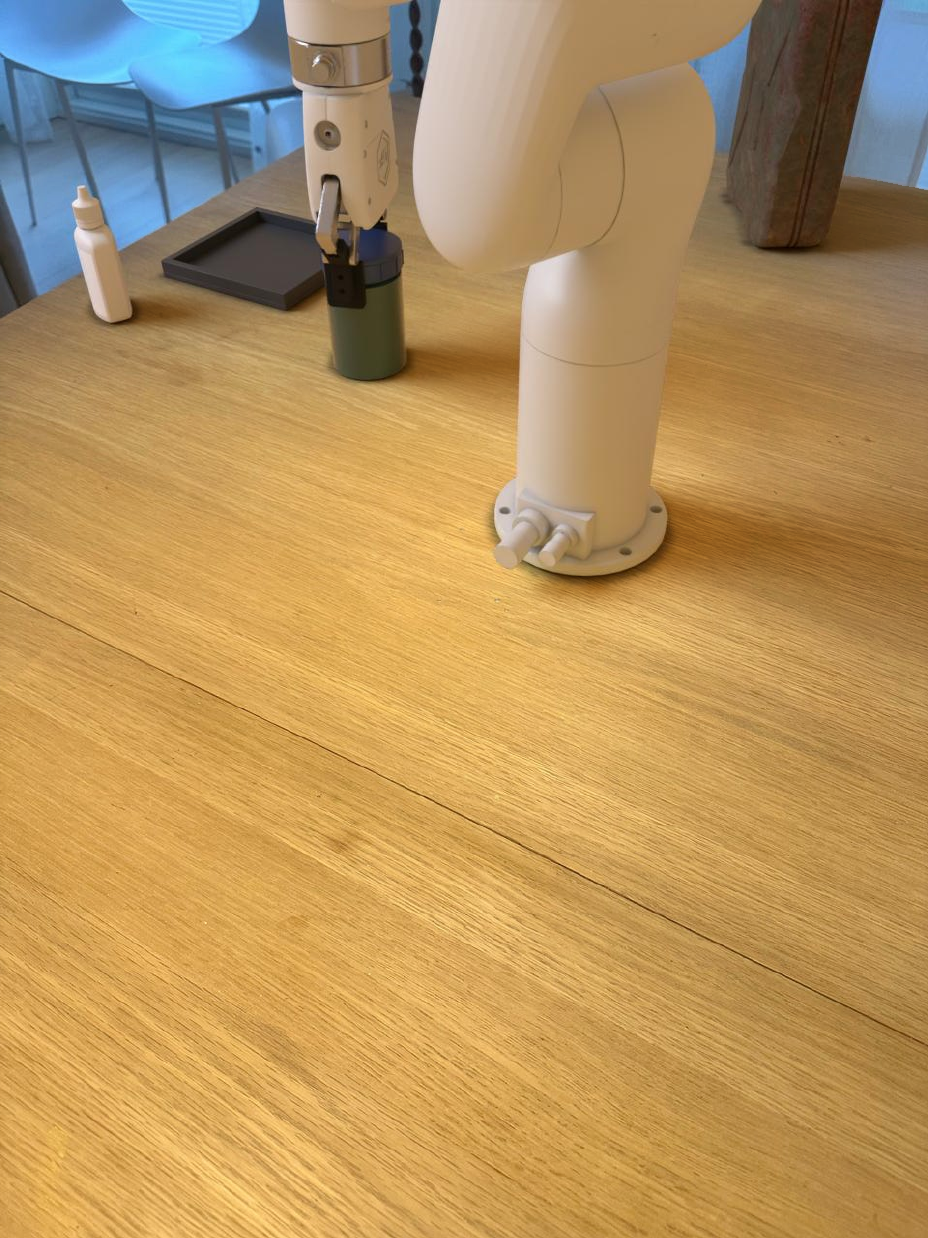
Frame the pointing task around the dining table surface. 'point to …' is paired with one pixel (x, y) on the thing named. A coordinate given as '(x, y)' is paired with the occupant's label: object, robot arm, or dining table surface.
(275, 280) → the tray
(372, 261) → the jar lid
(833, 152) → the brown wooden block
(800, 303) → the dining table surface
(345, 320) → the jar
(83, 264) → the eye dropper bottle
